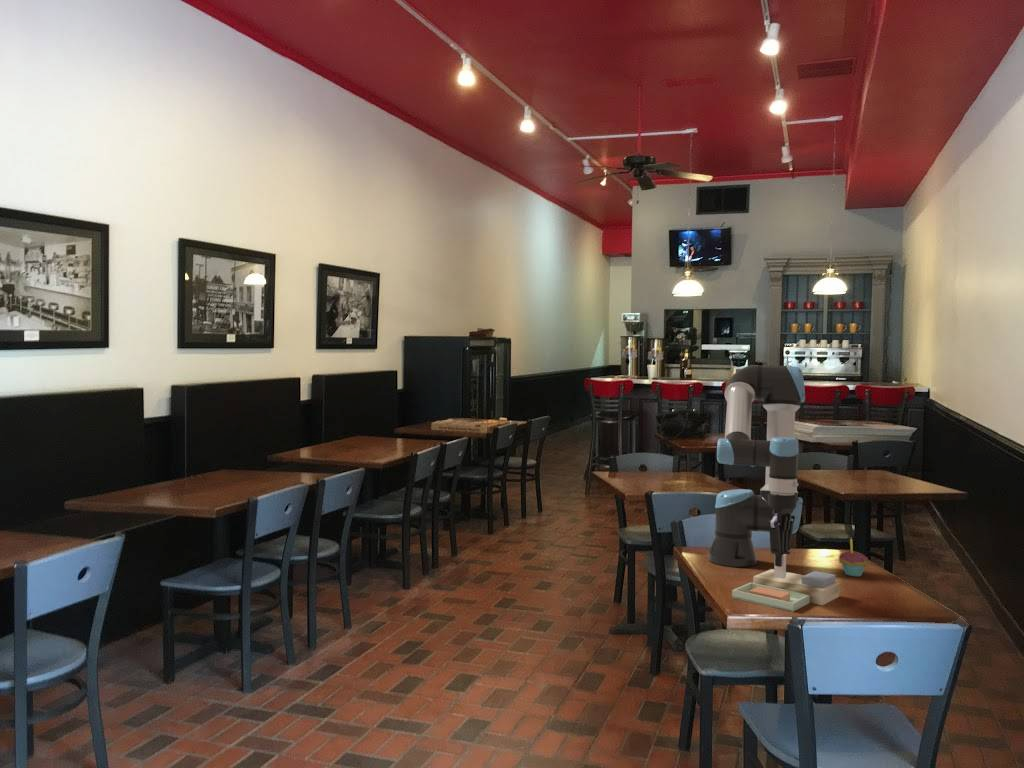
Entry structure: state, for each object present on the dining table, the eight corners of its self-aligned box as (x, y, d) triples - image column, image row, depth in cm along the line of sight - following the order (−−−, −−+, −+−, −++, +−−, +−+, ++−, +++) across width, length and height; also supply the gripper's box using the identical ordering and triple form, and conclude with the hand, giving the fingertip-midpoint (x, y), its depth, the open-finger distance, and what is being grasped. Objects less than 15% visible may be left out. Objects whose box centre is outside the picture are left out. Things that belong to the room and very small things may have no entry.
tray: (732, 598, 227) (732, 590, 227) (750, 590, 235) (750, 582, 235) (792, 611, 216) (793, 603, 216) (809, 603, 224) (809, 595, 224)
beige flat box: (752, 590, 235) (753, 576, 235) (771, 582, 244) (771, 568, 244) (822, 605, 222) (823, 590, 222) (839, 596, 231) (839, 582, 231)
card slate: (823, 588, 224) (823, 580, 224) (801, 583, 228) (801, 576, 228) (835, 582, 231) (835, 574, 231) (814, 577, 235) (814, 570, 235)
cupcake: (859, 579, 250) (860, 540, 250) (832, 573, 256) (834, 535, 256) (873, 575, 255) (874, 536, 255) (847, 569, 262) (848, 531, 262)
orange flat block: (758, 586, 230) (758, 593, 230) (749, 590, 226) (749, 597, 226) (790, 592, 224) (790, 600, 224) (781, 597, 220) (780, 604, 220)
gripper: (785, 497, 221) (782, 584, 222) (805, 492, 231) (802, 575, 232) (759, 493, 226) (756, 579, 227) (779, 488, 236) (776, 570, 237)
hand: (779, 577), depth 229 cm, fingers closed
